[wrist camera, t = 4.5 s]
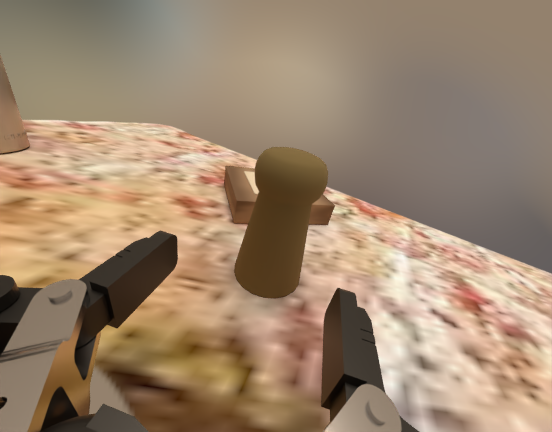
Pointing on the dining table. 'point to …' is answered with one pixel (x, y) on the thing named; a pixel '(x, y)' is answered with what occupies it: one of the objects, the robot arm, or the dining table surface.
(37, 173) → the dining table surface
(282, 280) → the brown wooden pawn
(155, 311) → the dining table surface
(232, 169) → the dock board
